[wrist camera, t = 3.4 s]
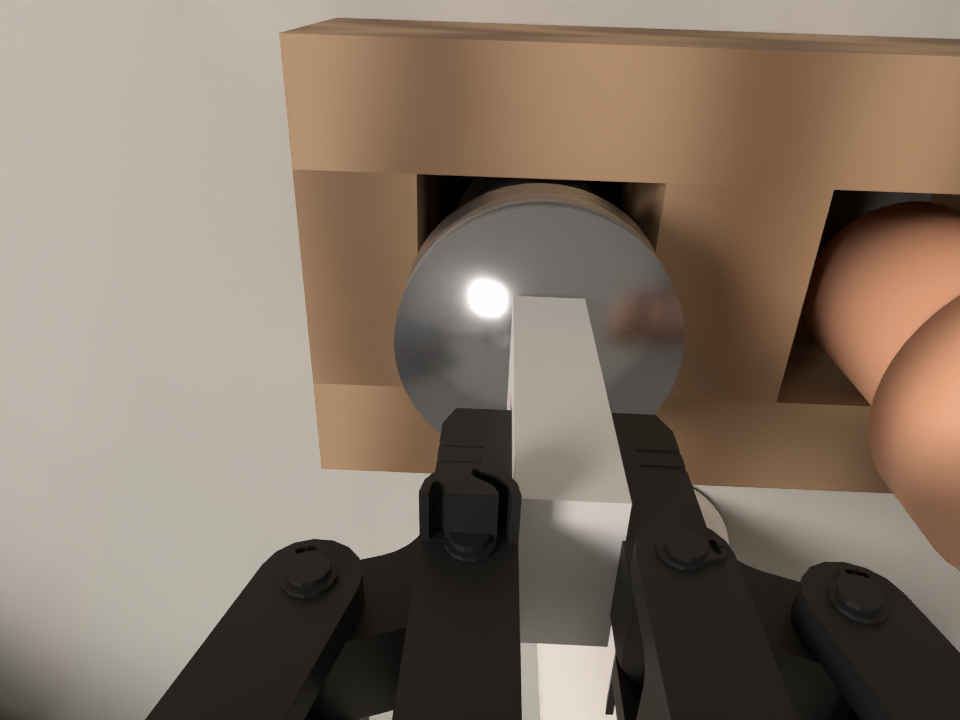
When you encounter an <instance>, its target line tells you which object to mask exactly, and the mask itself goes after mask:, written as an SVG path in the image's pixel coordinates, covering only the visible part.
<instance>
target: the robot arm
mask: <svg viewBox="0 0 960 720" xmlns="http://www.w3.org/2000/svg"><path fill="white" fill-rule="evenodd" d="M419 522H420V535H419V536H418V537H417V538H416V539H415V540H414V541H412V542H411V543H410V544H409V545H407V546H405V547H403V548H401V549H399V550H397V551H395V552H392V553H388V554H385V555H382V556H377V557H372V558H367V559H362V560H360V559H359V557H358V556H357V555H356V554H355V553H354V552H353V551H352V550H351V549H350V548H349V547H347V546H345V545H342V544H340V543H338V542H335V541H332V540H319V539H312V540H307V541H302V542H296V543H293V544H291V545H289V546H287V547H285V548H283V549H281V550H279V551H277V552H275V553H274V554H273V555H272V556H271V557H270V558H269V559H268V560H267V561H266V562H265V563H263V564H262V566H261V567H260V568H259V570H258V571H257V572H256V574H255V575H254V576H253V578H252V579H251V580H250V582H249V583H248V584H247V586H246V587H245V588H244V590H243V591H242V592H241V594H240V595H239V596H238V598H237V599H236V600H235V601H234V603H233V604H232V605H231V607H230V608H229V609H228V611H227V612H226V613H225V615H224V616H223V617H222V619H221V620H220V621H219V623H218V624H217V625H216V627H215V628H214V629H213V631H212V632H211V633H210V635H209V636H208V637H207V639H206V640H205V641H204V643H203V644H202V645H201V646H200V648H199V649H198V650H197V652H196V653H195V654H194V656H193V657H192V658H191V660H190V661H189V662H188V664H187V665H186V666H185V668H184V669H183V670H182V672H181V673H180V674H179V676H178V677H177V678H176V680H175V681H174V682H173V684H172V685H171V686H170V688H169V689H168V690H167V692H166V693H165V694H164V695H163V697H162V698H161V699H160V701H159V702H158V703H157V705H156V706H155V707H154V709H153V710H152V711H151V713H150V714H149V715H148V717H147V718H146V719H145V720H369V716H373V715H376V714H380V713H384V712H388V711H391V710H394V711H393V718H392V720H522V707H521V656H520V642H521V643H541V644H561V645H580V646H600V647H608V641H609V635H610V629H611V625H612V631H613V638H614V644H615V656H614V662H613V667H612V673H611V679H610V684H609V690H608V695H607V702H606V712H605V715H613V712H614V707H615V708H616V716H617V720H960V653H959V651H958V650H957V649H956V648H955V647H954V646H953V645H952V644H951V643H950V642H949V641H948V640H947V639H946V638H945V637H944V635H943V634H942V633H941V632H940V631H939V630H938V629H937V628H936V627H935V626H934V625H933V624H932V623H931V622H930V620H929V619H928V618H927V617H926V616H925V615H924V614H923V613H922V612H921V611H920V610H919V609H918V608H917V607H916V605H915V604H914V603H913V602H912V601H911V600H910V599H909V598H908V597H907V596H906V595H905V594H904V593H903V592H902V591H901V590H899V589H898V588H897V587H896V586H895V585H893V584H892V583H891V582H890V581H889V580H887V579H886V578H884V577H882V576H880V575H878V574H876V573H874V572H872V571H870V570H868V569H867V568H863V567H860V566H856V565H852V564H849V563H845V562H823V563H820V564H818V565H815V566H812V567H810V568H809V569H808V570H807V572H806V573H805V574H804V575H803V577H802V578H801V581H800V582H797V581H794V580H790V579H787V578H783V577H780V576H776V575H773V574H769V573H766V572H763V571H760V570H757V569H755V568H752V567H749V566H747V565H745V564H743V563H741V562H740V561H738V560H737V559H736V556H735V554H734V553H733V551H732V549H731V548H730V546H729V545H728V543H727V542H726V541H725V540H724V539H723V538H722V537H720V536H719V535H718V534H717V533H715V532H714V531H713V530H711V529H709V528H707V526H706V523H705V520H704V517H703V515H702V512H701V509H700V506H699V503H698V501H697V498H696V495H695V492H694V489H693V486H692V484H691V481H690V478H689V475H688V472H687V471H686V470H685V464H684V461H683V458H682V455H680V450H679V447H678V444H677V441H676V438H675V436H674V433H673V431H672V430H671V429H670V428H669V427H668V426H667V425H666V424H665V423H664V422H663V421H661V420H660V419H659V418H658V417H657V416H656V415H651V414H628V413H611V410H610V406H609V402H608V397H607V393H606V388H605V384H604V380H603V375H602V371H601V367H600V362H599V358H598V353H597V349H596V345H595V340H594V336H593V332H592V327H591V323H590V318H589V314H588V310H587V305H586V301H585V299H580V298H556V297H532V296H513V308H512V325H511V343H510V361H509V379H508V396H507V410H495V409H473V408H456V409H455V410H454V411H453V412H452V413H451V414H450V415H449V417H448V418H447V419H446V420H445V421H444V422H443V423H442V429H441V436H440V444H439V449H438V456H437V463H436V469H435V472H434V473H432V474H431V475H430V476H429V477H427V478H426V479H425V480H424V482H423V484H422V486H421V489H420V491H419Z"/></svg>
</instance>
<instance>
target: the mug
mask: <svg viewBox="0 0 960 720" xmlns="http://www.w3.org/2000/svg"><path fill="white" fill-rule="evenodd" d="M694 492H695V495H696V498H697V501H698V503H699V506H700V509H701V512H702V515H703V517H704V520H705V523H706V526H707V528H709V529H711V530H713V531H714V532H715V533H717V534H718V535H719V536H720V537H722V538H723V539H724V540H725V541H726V542H727V543H728V545H729V539H728V533H727V530H726V527H725V524H724V522H723V519H722V518H721V516H720V514H719V513H718V511H717V510H716V508H715V507H714V506H713V505H712V504H711V503H710V501H708V500H707V499H706V498H705V497H704V496H703V495H702V494H700V493H699V492H697V491H696V490H694ZM537 655H538V677H539V698H540V720H617V716H616V708H615V707H614V712H613V715H605V712H606V702H607V695H608V690H609V684H610V679H611V673H612V667H613V662H614V656H615V644H614V638H613V631H612V625H611V629H610V635H609V641H608V647H600V646H580V645H561V644H541V643H537Z"/></svg>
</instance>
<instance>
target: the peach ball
mask: <svg viewBox="0 0 960 720" xmlns="http://www.w3.org/2000/svg"><path fill="white" fill-rule="evenodd" d="M803 315H804V318H805V322H806V324H807V327H808V329H809V331H810V333H811V334H812V336H813V337H814V338H815V340H816V341H817V342H818V343H819V344H820V346H821V347H822V348H823V349H824V350H825V352H826V353H827V354H828V355H829V356H830V357H831V359H832V360H833V361H834V362H835V363H836V365H837V366H838V367H839V368H840V369H841V370H842V372H843V373H844V374H845V375H846V376H847V378H848V379H849V380H850V381H851V382H852V384H853V385H854V386H855V387H856V388H857V389H858V391H859V392H860V393H861V394H862V395H863V397H864V398H865V399H866V400H867V401H868V402H869V404H870V405H871V410H870V415H869V424H868V438H869V447H870V451H871V455H872V459H873V462H874V464H875V466H876V468H877V471H878V473H879V474H880V476H881V477H882V479H883V480H884V481H885V483H886V484H887V486H888V487H889V488H890V490H891V491H892V492H893V494H894V495H895V496H896V498H897V499H898V500H899V502H900V503H901V504H902V506H903V507H904V508H905V510H906V511H907V513H908V514H909V515H910V517H911V518H912V519H913V521H914V522H915V523H916V525H917V526H918V527H919V529H920V530H921V531H922V533H923V534H924V535H925V537H926V538H927V539H928V541H929V542H930V543H931V545H932V546H933V547H934V549H935V550H936V551H937V552H938V553H939V554H940V555H941V556H942V557H943V558H944V559H945V560H946V561H947V562H948V563H950V564H951V565H953V566H954V567H956V568H957V569H959V570H960V213H959V212H957V211H955V210H953V209H951V208H948V207H946V206H943V205H940V204H935V203H931V202H921V201H917V202H903V203H896V204H892V205H888V206H884V207H881V208H879V209H876V210H873V211H871V212H869V213H867V214H865V215H863V216H861V217H859V218H857V219H856V220H854V221H853V222H851V223H850V224H848V225H847V226H845V227H844V228H843V229H842V230H840V231H839V232H838V233H837V234H836V235H835V236H834V237H833V238H832V239H831V240H830V241H829V242H828V243H827V244H826V245H825V247H824V248H823V249H822V250H821V251H820V253H819V254H818V256H817V258H816V259H815V262H814V266H813V269H812V273H811V277H810V281H809V284H808V288H807V292H806V295H805V299H804V303H803Z"/></svg>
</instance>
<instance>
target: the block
mask: <svg viewBox="0 0 960 720" xmlns="http://www.w3.org/2000/svg"><path fill="white" fill-rule="evenodd" d="M279 34H280V44H281V55H282V65H283V75H284V85H285V96H286V106H287V116H288V126H289V137H290V147H291V157H292V168H293V178H294V188H295V198H296V209H297V219H298V229H299V240H300V250H301V260H302V270H303V281H304V291H305V301H306V312H307V322H308V332H309V342H310V353H311V363H312V373H313V384H314V394H315V404H316V414H317V425H318V435H319V445H320V456H321V466H322V469H342V470H365V471H388V472H411V473H434V472H435V469H436V463H437V456H438V449H439V444H440V436H441V434H440V433H438V432H437V431H436V430H435V429H434V428H433V427H432V426H431V425H430V424H429V423H428V422H427V421H426V420H425V419H424V418H423V417H422V416H421V414H420V413H419V412H418V410H417V409H416V408H415V407H414V405H413V403H412V402H411V400H410V398H409V397H408V395H407V393H406V391H405V389H404V386H403V384H402V381H401V379H400V376H399V373H398V369H397V365H396V361H395V351H394V328H395V322H396V317H397V312H398V308H399V305H400V302H401V299H402V296H403V293H404V290H405V286H406V283H407V280H408V277H409V274H410V271H411V268H412V265H413V263H414V260H415V258H416V256H417V254H418V252H419V250H420V248H421V247H422V245H423V244H424V242H425V241H426V239H427V238H428V237H429V235H430V234H431V232H432V231H433V230H434V229H435V228H436V227H437V226H438V175H454V176H481V177H508V178H535V179H561V180H588V181H615V182H622V188H621V196H620V204H619V209H620V210H621V211H623V212H624V213H625V214H626V215H628V216H629V217H630V218H631V219H632V220H633V221H634V222H635V223H636V224H637V225H638V226H639V227H640V229H641V230H642V232H643V233H644V234H645V236H646V237H647V238H648V240H649V241H650V243H651V245H652V247H653V249H654V250H655V252H656V254H657V256H658V258H659V260H660V262H661V263H662V265H663V267H664V269H665V271H666V273H667V275H668V277H669V278H670V280H671V282H672V284H673V286H674V288H675V290H676V293H677V296H678V299H679V302H680V304H681V309H682V314H683V319H684V336H685V341H684V349H683V357H682V361H681V365H680V368H679V372H678V375H677V377H676V379H675V382H674V384H673V387H672V389H671V390H670V392H669V394H668V395H667V397H666V399H665V401H664V402H663V404H662V405H661V406H660V407H659V409H658V410H657V411H656V413H655V414H654V415H656V416H657V417H658V418H659V419H660V420H661V421H663V422H664V423H665V424H666V425H667V426H668V427H669V428H670V429H671V430H672V431H673V433H674V436H675V438H676V441H677V444H678V447H679V450H680V455H682V458H683V461H684V464H685V470H686V471H687V472H688V475H689V478H690V481H691V484H692V485H711V486H734V487H757V488H780V489H804V490H827V491H850V492H873V493H893V492H892V491H891V490H890V488H889V487H888V486H887V484H886V483H885V481H884V480H883V479H882V477H881V476H880V474H879V473H878V471H877V468H876V466H875V464H874V462H873V459H872V455H871V451H870V447H869V438H868V424H869V415H870V410H871V405H870V404H869V402H868V401H867V400H866V399H865V398H864V397H863V395H862V394H861V393H860V392H859V391H858V389H857V388H856V387H855V386H854V385H853V384H852V382H851V381H850V380H849V379H848V378H847V376H846V375H845V374H844V373H843V372H842V370H841V369H840V368H839V367H838V366H837V365H836V363H835V362H834V361H833V360H832V359H831V357H830V356H829V355H828V354H827V353H826V352H825V350H824V349H823V348H822V347H821V346H820V344H819V343H818V342H817V341H816V340H815V338H814V337H813V336H812V334H811V333H810V331H809V329H808V327H807V324H806V322H805V318H804V316H800V314H801V310H802V306H803V303H804V299H805V295H806V292H807V288H808V284H809V281H810V277H811V273H812V269H813V266H814V262H815V258H816V255H817V251H818V247H819V244H820V240H821V236H822V233H823V229H824V225H825V222H826V218H827V214H828V211H829V207H830V203H831V200H832V196H833V192H834V190H855V191H882V192H909V193H933V195H932V198H931V201H930V202H931V203H935V204H940V205H943V206H946V207H948V208H951V209H953V210H955V211H957V212H959V213H960V39H935V38H906V37H877V36H848V35H819V34H790V33H761V32H731V31H702V30H673V29H644V28H615V27H586V26H557V25H528V24H499V23H470V22H441V21H412V20H383V19H353V18H334V19H330V20H327V21H323V22H319V23H315V24H311V25H308V26H304V27H300V28H296V29H293V30H289V31H285V32H281V33H279Z"/></svg>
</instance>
